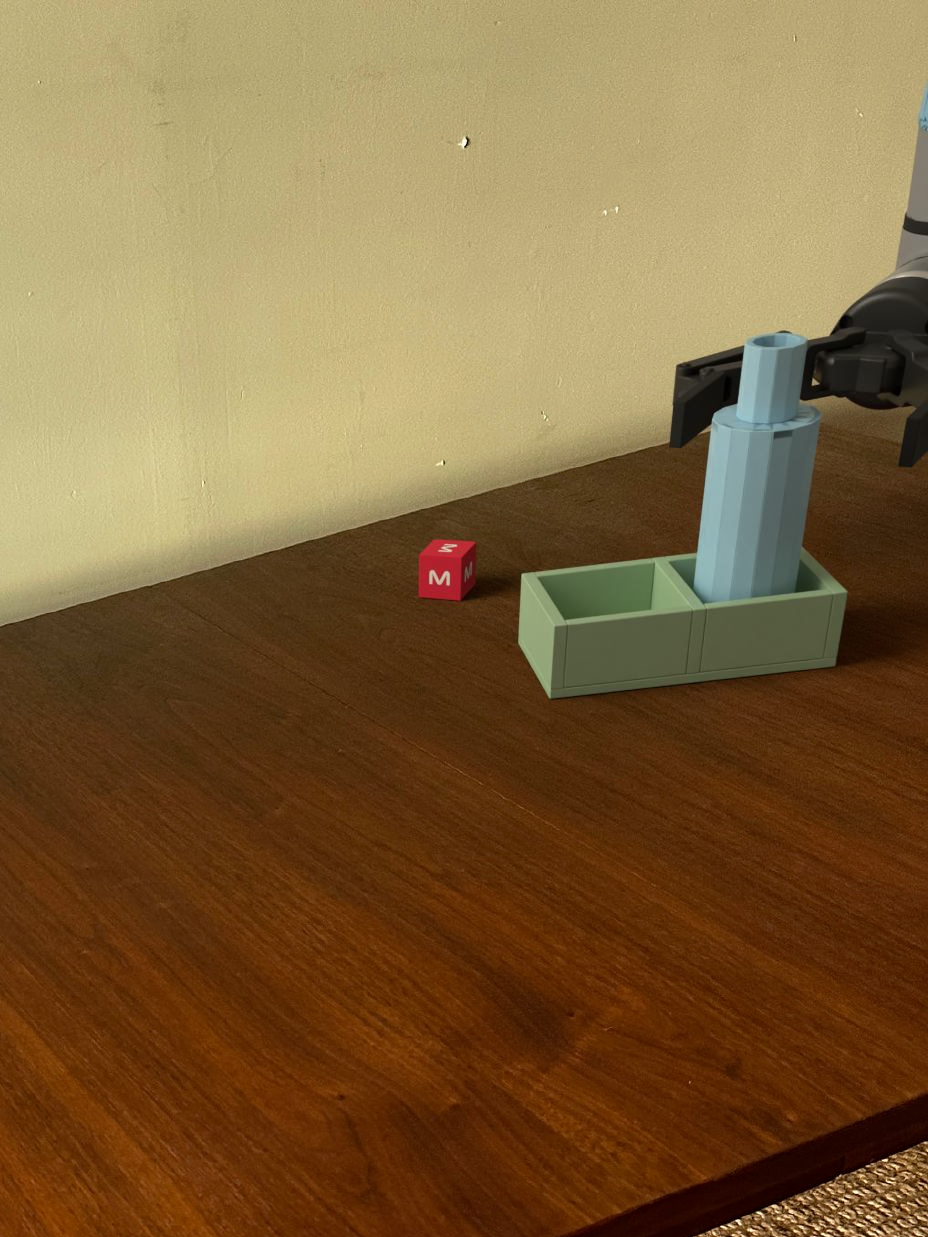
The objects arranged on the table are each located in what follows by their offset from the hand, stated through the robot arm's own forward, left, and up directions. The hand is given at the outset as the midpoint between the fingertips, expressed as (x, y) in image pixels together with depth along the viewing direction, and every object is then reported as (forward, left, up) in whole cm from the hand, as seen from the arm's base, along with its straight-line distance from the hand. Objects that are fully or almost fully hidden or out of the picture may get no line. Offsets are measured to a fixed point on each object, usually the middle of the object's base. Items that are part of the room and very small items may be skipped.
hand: (788, 433), depth 105 cm
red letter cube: (+18, -12, -12) cm, 24 cm away
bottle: (+3, +3, -11) cm, 12 cm away
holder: (+7, +3, -12) cm, 14 cm away
